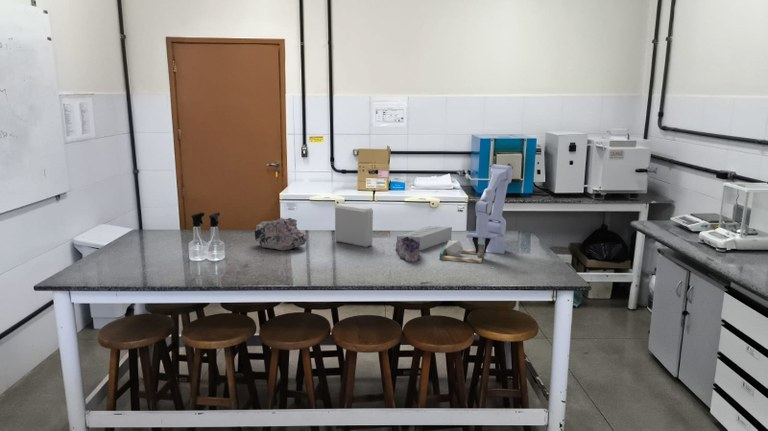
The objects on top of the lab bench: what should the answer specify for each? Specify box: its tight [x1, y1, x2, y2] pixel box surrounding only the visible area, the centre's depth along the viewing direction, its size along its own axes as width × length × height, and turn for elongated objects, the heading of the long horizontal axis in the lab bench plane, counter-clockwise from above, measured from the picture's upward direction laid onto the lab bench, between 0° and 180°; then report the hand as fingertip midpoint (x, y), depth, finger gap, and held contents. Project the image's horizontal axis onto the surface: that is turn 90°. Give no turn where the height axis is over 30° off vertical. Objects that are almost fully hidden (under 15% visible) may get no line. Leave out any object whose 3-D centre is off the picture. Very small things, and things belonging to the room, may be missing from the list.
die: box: [445, 239, 464, 257], centre depth 274 cm, size 8×9×10 cm
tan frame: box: [439, 243, 485, 264], centre depth 273 cm, size 20×16×7 cm
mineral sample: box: [254, 217, 307, 251], centre depth 286 cm, size 27×19×15 cm
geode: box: [395, 237, 420, 263], centre depth 272 cm, size 20×12×10 cm, turn 11°
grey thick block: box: [334, 203, 374, 248], centre depth 293 cm, size 21×8×20 cm, turn 58°
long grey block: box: [396, 225, 453, 252], centre depth 298 cm, size 30×14×8 cm, turn 141°
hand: (480, 252), depth 271 cm, fingers open, 3 cm apart
